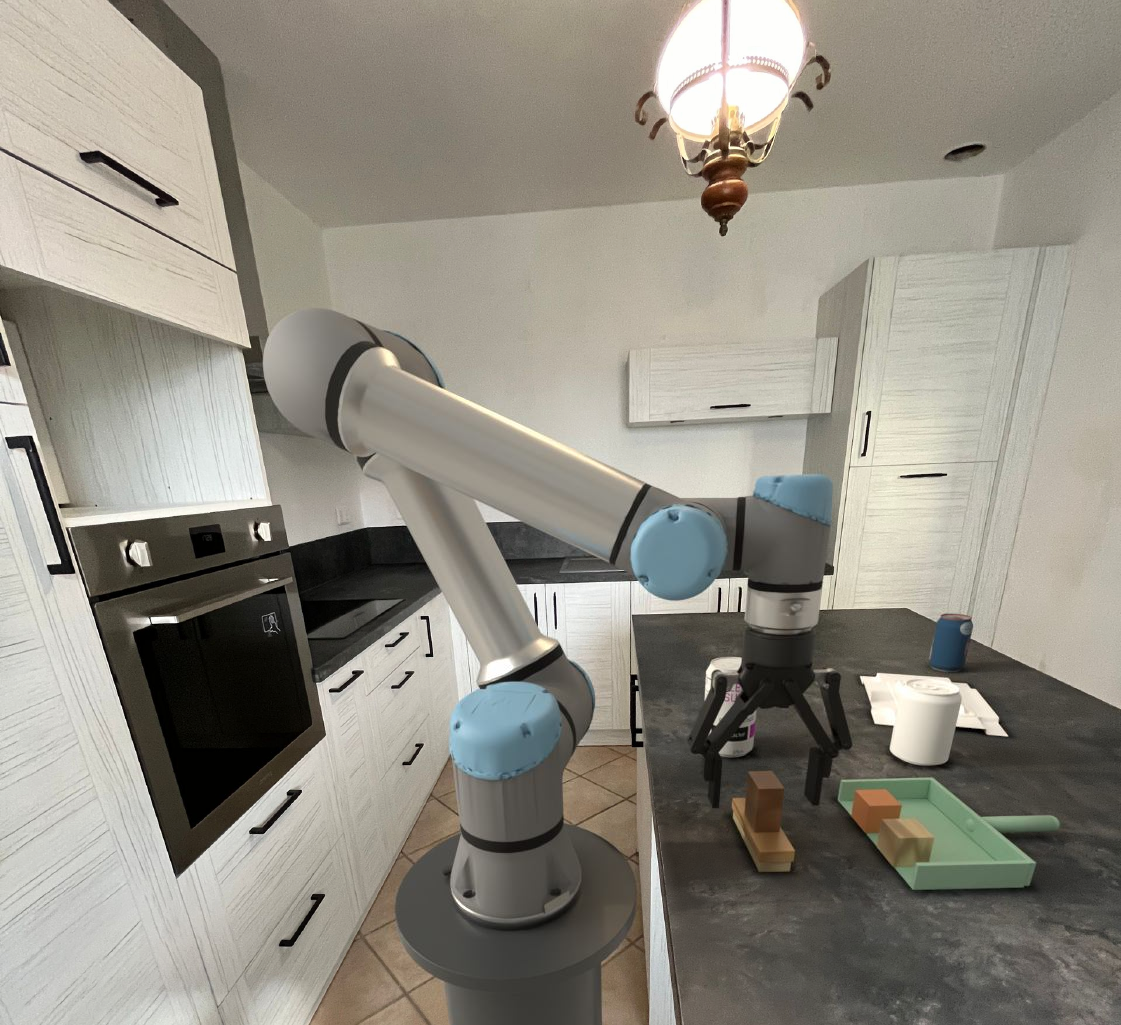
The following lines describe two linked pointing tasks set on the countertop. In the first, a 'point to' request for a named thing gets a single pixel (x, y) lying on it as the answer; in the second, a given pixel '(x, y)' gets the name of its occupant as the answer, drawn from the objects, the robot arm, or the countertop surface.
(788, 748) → the countertop surface
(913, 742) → the beverage can
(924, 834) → the chunk
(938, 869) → the dustpan
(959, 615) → the soda can
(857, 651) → the countertop surface
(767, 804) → the brush
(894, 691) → the tray
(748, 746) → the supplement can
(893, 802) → the chunk
